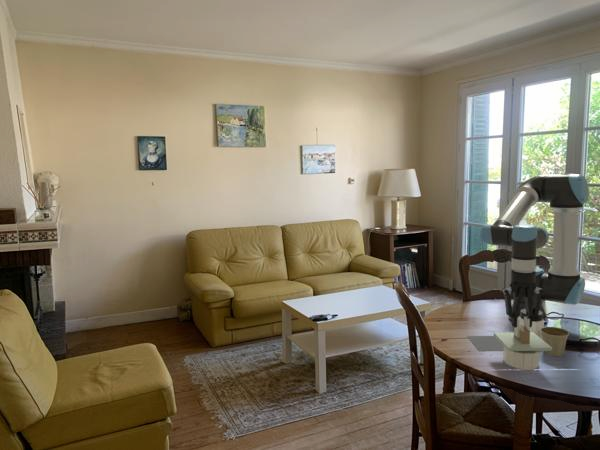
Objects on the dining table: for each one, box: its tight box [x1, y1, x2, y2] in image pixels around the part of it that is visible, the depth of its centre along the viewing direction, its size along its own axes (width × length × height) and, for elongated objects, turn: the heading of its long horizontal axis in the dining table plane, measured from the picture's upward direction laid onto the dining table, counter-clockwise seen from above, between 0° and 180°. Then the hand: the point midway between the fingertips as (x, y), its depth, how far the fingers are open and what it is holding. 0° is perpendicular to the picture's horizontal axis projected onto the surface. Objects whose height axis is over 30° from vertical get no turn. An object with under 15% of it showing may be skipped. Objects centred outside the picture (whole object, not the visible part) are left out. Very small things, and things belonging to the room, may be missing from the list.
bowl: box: [502, 346, 540, 372], centre depth 156 cm, size 11×11×6 cm
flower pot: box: [540, 326, 570, 357], centre depth 163 cm, size 9×9×9 cm
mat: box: [466, 335, 504, 352], centre depth 173 cm, size 15×15×1 cm
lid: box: [493, 324, 552, 352], centre depth 155 cm, size 14×14×6 cm
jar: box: [519, 309, 545, 340], centre depth 174 cm, size 9×8×12 cm
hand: (521, 335), depth 155 cm, fingers closed on lid, 2 cm apart
